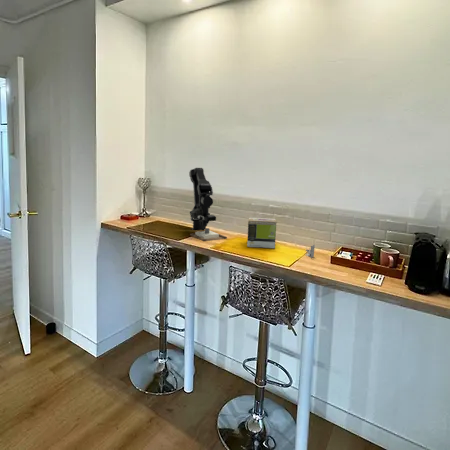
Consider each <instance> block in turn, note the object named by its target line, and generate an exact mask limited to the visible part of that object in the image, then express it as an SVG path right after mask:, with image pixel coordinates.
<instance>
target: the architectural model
mask: <svg viewBox="0 0 450 450" xmlns="http://www.w3.org/2000/svg"><path fill="white" fill-rule="evenodd" d="M315 246H316V245H315V244H312V245H310V248H308V247H307V246H306V247H305V252H306V253H305V256H306V257H310V259H312V258H314V256H315Z"/></svg>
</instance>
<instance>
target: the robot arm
mask: <svg viewBox="0 0 450 450" xmlns="http://www.w3.org/2000/svg"><path fill="white" fill-rule="evenodd" d="M204 172H205V171H204V168H203V167H195V168H193V169H190V170H189V172H188V173H189V175H188V176H189V177H190V178H189V179H190V182H191V183H192V184H193V201H194V202H193V203H194V206H193V208H192V210H190V211H189V214H190V215H189V216H190V221H191V222H192V228H190V229H191V230H193V231H205V228H207V226H208V224H209V223H210V222H214V221H215V222H216V221H217V216H215V215H214V214H211V213H210V211H209V209H210V208H211V207H212V205H213V204H214V200H213V198H212V197H211V196H213V193H214V190H213V187H212V185H211V183H210V181H209V180H207V179H206V176H205V173H204Z"/></svg>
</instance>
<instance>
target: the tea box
mask: <svg viewBox="0 0 450 450" xmlns="http://www.w3.org/2000/svg"><path fill="white" fill-rule="evenodd" d="M247 222H248V223H247V240H246V241H247V243H246V244H247V245H246V246H247V247H249V248H266V249H275V248H276V238H277V237H276V235H277V220H276V218H269V217H268V218H265V217H248V220H247Z"/></svg>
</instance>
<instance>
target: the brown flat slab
mask: <svg viewBox="0 0 450 450" xmlns="http://www.w3.org/2000/svg"><path fill="white" fill-rule="evenodd" d="M218 234H219V237H218V238H209V239H204V238H201V237H199V236H197V235H195V233H194V232H193V233H190V234H189V235H190V237H193V238H195V239H198V240H201V241H203V242H210V241H211V242H212V241H219V240H227V239H228V237H227V236H225V235H223V234H220V233H218Z"/></svg>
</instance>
